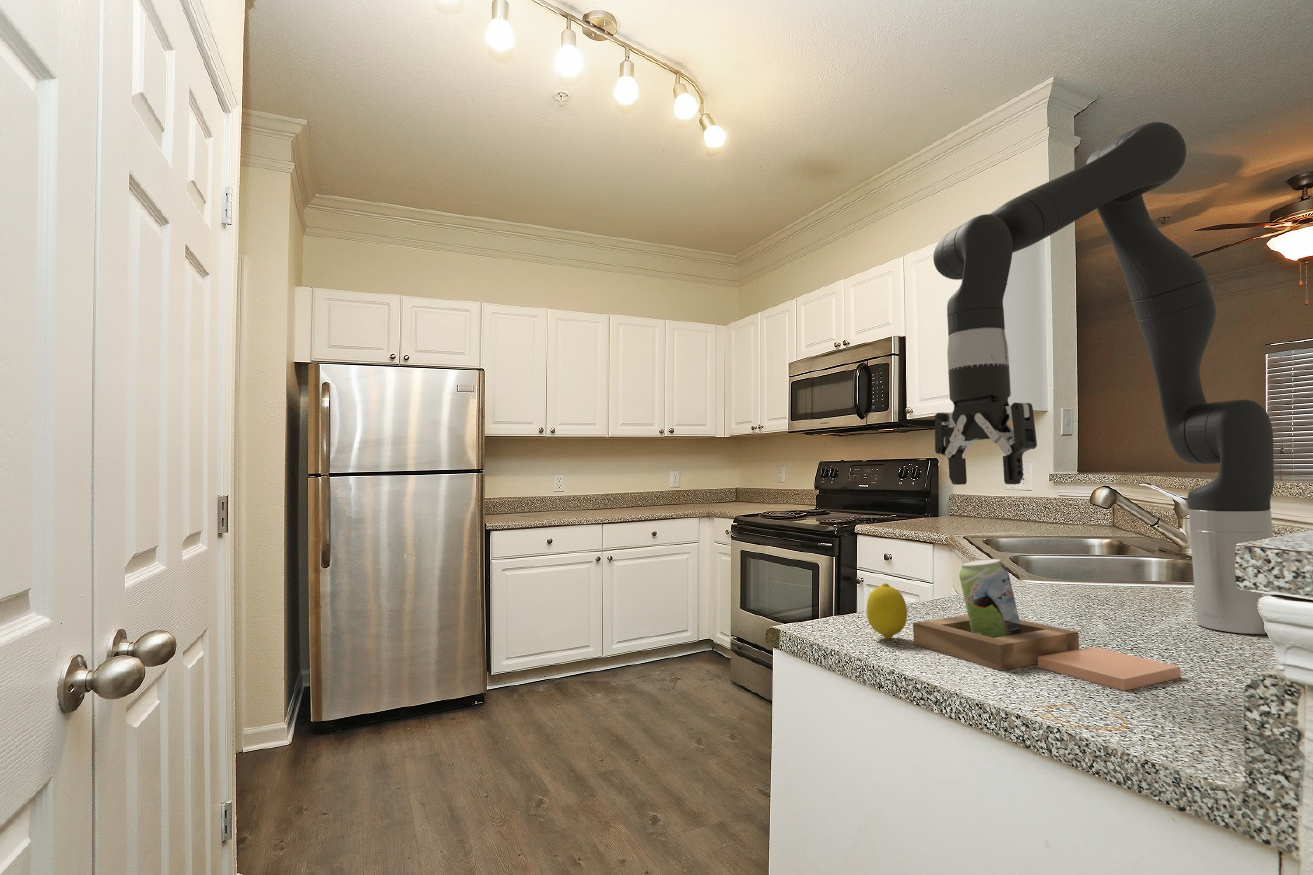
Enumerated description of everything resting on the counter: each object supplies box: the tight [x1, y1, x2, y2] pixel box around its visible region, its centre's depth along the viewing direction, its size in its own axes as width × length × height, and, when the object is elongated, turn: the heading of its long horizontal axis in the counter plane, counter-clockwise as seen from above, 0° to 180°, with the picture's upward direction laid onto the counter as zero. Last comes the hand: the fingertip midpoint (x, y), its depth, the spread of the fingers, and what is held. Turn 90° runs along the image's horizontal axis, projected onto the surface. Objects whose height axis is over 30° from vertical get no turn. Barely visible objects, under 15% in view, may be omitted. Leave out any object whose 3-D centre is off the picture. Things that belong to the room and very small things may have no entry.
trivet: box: [1037, 646, 1182, 692], centre depth 77 cm, size 10×10×1 cm
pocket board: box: [912, 614, 1080, 672], centre depth 88 cm, size 14×14×3 cm
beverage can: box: [958, 558, 1022, 638], centre depth 88 cm, size 6×7×12 cm
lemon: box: [866, 582, 908, 640], centre depth 95 cm, size 6×6×8 cm
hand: (984, 484), depth 89 cm, fingers open, 8 cm apart
